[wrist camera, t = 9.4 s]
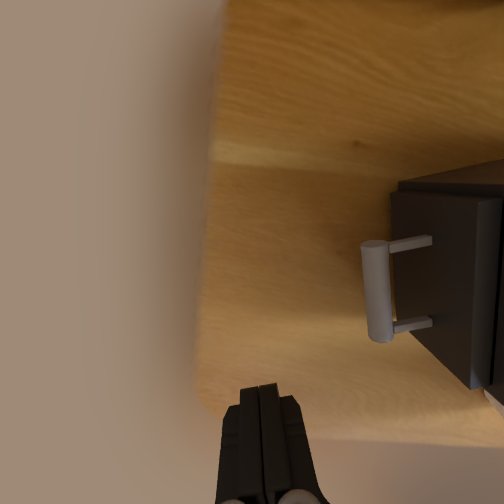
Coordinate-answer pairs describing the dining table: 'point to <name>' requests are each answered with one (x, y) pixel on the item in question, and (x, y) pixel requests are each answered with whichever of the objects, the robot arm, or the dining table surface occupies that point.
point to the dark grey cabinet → (500, 185)
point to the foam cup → (495, 403)
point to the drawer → (440, 278)
